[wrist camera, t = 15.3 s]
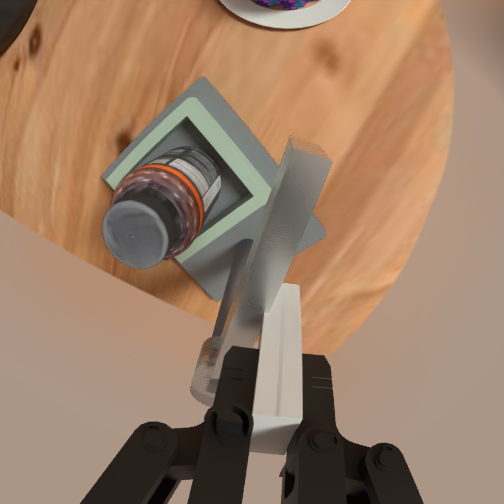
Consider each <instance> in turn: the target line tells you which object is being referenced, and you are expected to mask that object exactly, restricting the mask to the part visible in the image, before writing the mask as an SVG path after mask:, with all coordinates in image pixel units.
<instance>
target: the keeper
mask: <svg viewBox="0 0 504 504" xmlns="http://www.w3.org/2000/svg"><path fill="white" fill-rule="evenodd" d="M332 163H333V161H332V160H331V159H330V157H329V156H328V155H327V153H326V152H325V151H324V150H323V148H322V147H321V146H320V145H317V144H315V143H312V142H309V141H306V140H303V139H301V138H298V137H295V136H292V135H290V137H289V140H288V143H287V146H286V149H285V152H284V155H283V158H282V160H281V163H280V166H279V169H278V172H277V175H276V178H275V180H274V183H273V186H272V189H271V192H270V195H269V198H268V201H267V203H266V206H265V209H264V212H263V215H262V218H261V221H260V224H259V227H258V229H257V232H256V235H255V238H254V241H253V244H252V247H251V250H250V252H249V255H248V258H247V261H246V264H245V267H244V270H243V273H242V276H241V278H240V281H239V284H238V287H237V290H236V293H235V296H234V299H233V302H232V304H231V307H230V310H229V313H228V316H227V319H226V322H225V325H224V328H223V330H222V333H221V335H218V336H213V337H210V338H208V339H207V340H206V341H205V342H204V343H203V345H202V348H201V352H200V356H199V359H198V362H197V366H196V369H195V373H194V376H193V379H192V383H191V386H190V392H191V394H192V396H193V397H194V398H195V399H196V400H198V401H199V402H201V403H202V404H205V405H207V406H210V407H212V406H213V403H214V398H215V394H216V390H217V385H218V381H219V377H220V372H221V368H222V364H223V360H224V355H225V354H226V353H227V351H228V350H229V349H230V348H231V347H232V346H240V347H246V348H253V346H254V344H255V342H256V340H257V338H258V336H259V333H260V331H261V329H262V325H263V319H264V313H269V312H270V309H271V307H272V305H273V303H274V300H275V298H276V296H277V294H278V292H279V289H280V287H281V285H282V282H283V280H284V278H285V276H286V273H287V271H288V269H289V267H290V264H291V262H292V260H293V257H294V255H295V253H296V250H297V248H298V246H299V243H300V241H301V239H302V236H303V234H304V231H305V229H306V227H307V224H308V222H309V219H310V217H311V215H312V212H313V210H314V207H315V205H316V202H317V200H318V198H319V195H320V193H321V190H322V188H323V185H324V183H325V180H326V178H327V175H328V173H329V170H330V168H331V165H332Z"/></svg>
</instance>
